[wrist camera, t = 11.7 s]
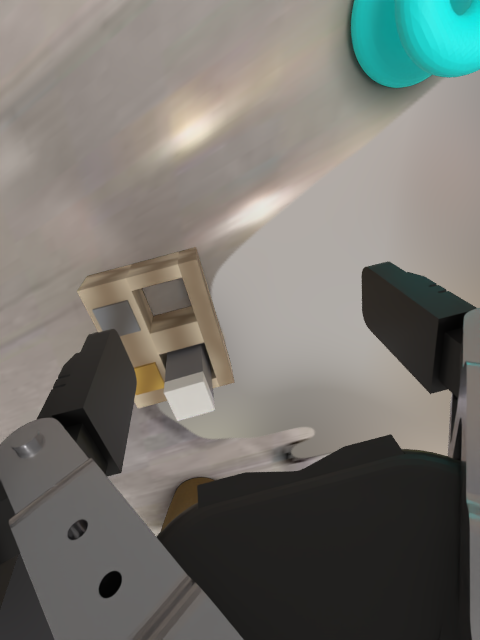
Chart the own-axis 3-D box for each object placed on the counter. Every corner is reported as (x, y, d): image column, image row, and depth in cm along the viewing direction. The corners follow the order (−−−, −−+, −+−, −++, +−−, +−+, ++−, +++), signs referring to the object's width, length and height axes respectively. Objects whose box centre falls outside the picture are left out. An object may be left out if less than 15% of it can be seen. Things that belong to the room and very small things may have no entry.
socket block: (141, 386, 45) (137, 410, 41) (87, 276, 37) (76, 292, 33) (230, 363, 45) (234, 384, 41) (195, 247, 37) (196, 260, 33)
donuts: (452, 109, 24) (381, -37, 20) (382, 115, 33) (322, 13, 29) (588, -16, 22) (541, -214, 18) (474, 25, 31) (424, -100, 26)
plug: (179, 363, 44) (177, 421, 35) (168, 338, 42) (163, 392, 33) (209, 354, 44) (215, 410, 35) (200, 329, 42) (203, 381, 33)
